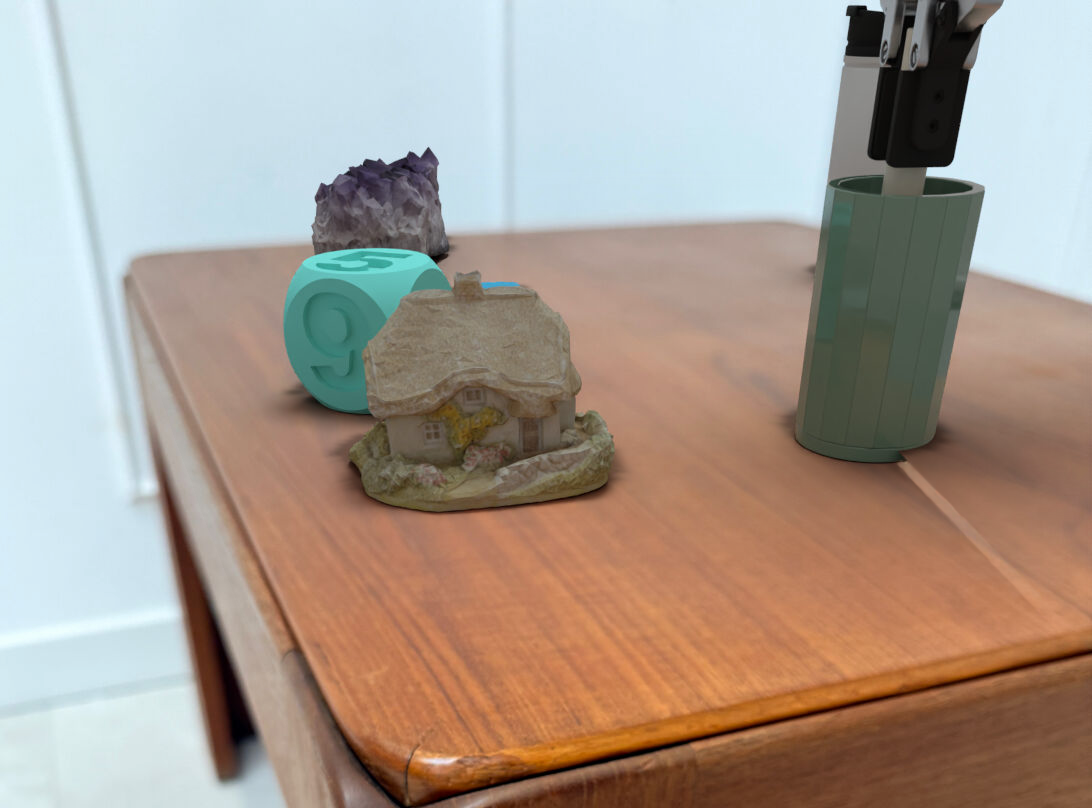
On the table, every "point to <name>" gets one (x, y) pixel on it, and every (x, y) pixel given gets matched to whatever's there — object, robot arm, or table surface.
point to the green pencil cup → (884, 315)
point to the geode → (382, 208)
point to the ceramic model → (477, 403)
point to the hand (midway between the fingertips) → (908, 159)
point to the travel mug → (857, 96)
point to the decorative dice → (347, 316)
